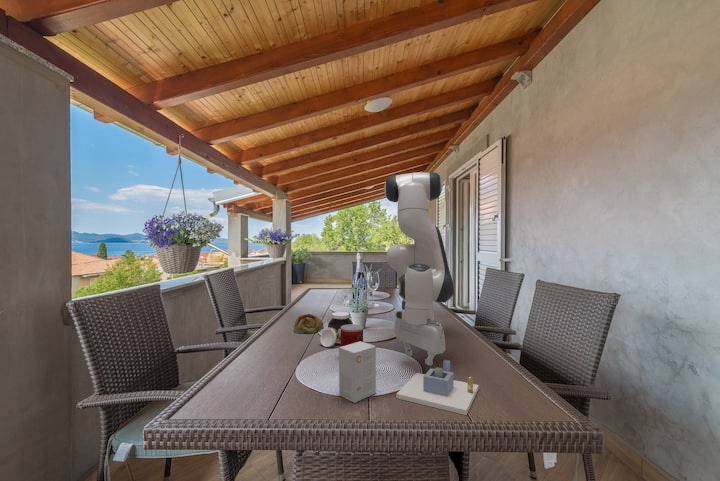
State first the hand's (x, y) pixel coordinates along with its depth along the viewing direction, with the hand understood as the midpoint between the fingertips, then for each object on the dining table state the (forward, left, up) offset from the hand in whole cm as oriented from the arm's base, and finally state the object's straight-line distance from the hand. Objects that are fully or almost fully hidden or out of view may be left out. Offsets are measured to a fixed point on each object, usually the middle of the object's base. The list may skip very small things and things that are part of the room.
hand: (418, 360), depth 110 cm
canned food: (0, -24, -4) cm, 24 cm away
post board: (+12, +10, -4) cm, 16 cm away
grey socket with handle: (+9, +10, -2) cm, 14 cm away
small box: (+23, -9, -4) cm, 25 cm away
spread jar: (-11, -37, -4) cm, 39 cm away
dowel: (+10, +18, -2) cm, 20 cm away
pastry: (-22, -59, -4) cm, 63 cm away
